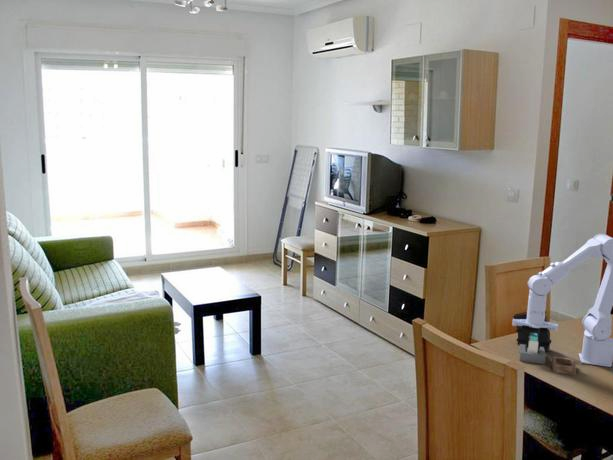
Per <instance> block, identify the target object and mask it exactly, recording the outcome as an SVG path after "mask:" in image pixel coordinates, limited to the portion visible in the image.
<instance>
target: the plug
mask: <svg viewBox="0 0 613 460" xmlns="http://www.w3.org/2000/svg"><path fill="white" fill-rule="evenodd" d="M527 352H530V353H537V352H538V334H536V333H530V337H529V345H528V348H527Z"/></svg>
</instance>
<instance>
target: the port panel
mask: <svg viewBox="0 0 613 460" xmlns="http://www.w3.org/2000/svg"><path fill="white" fill-rule="evenodd" d="M518 353H519V354H518V356H519V361H520V362H521V361H522V362H527V363H533V364H535V363H536V364H540V365H541V364H542V365H546V364H545V363H546V351H545V350H544V347H540V349H538V352H537V353H530V352H527V348H526V345H524V344H520V345H519V348H518Z"/></svg>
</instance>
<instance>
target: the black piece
mask: <svg viewBox="0 0 613 460" xmlns="http://www.w3.org/2000/svg"><path fill="white" fill-rule="evenodd" d="M546 313H547V310H546V309H545V319H544V321H545V322H549V320H548V317H547V314H546ZM512 318H513V319H527V311H524V312H519V313H516V314H513V317H512ZM529 328H530V329H529V330H530V332H529V337H530V333H536V334H538V336H539V328H532V327H529ZM550 331H551V330H549V329H548V333H547V335H546V336H545V338H544V339H543V341H542V343H541V345H540V347H544V350H545V352H549V350H550V349H551V348H550V347H551V343H552V339H551V332H550ZM515 332H516V333H517V338H516V340H515V341H516V342H517V343H516V344H517V345H518V346H520V344H524V345H526V340H525V336H524V334H523V331H522V326H516V329H515Z"/></svg>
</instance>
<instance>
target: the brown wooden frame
mask: <svg viewBox="0 0 613 460" xmlns="http://www.w3.org/2000/svg"><path fill="white" fill-rule="evenodd" d="M550 363H551V367H552V372H553V373H557V374H565V375H570V376H575V375H576V365H575V362H574V359H573V358H567V357H561V356H554V355H553V356H551V362H550Z"/></svg>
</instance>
